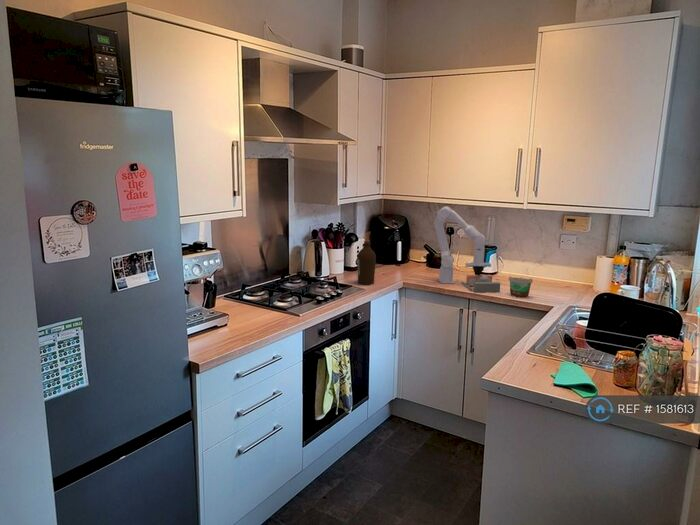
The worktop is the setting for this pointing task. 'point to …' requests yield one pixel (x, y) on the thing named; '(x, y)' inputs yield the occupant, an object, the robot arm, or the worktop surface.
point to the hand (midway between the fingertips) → (477, 279)
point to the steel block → (482, 278)
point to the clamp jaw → (472, 279)
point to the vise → (484, 287)
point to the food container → (520, 286)
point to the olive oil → (366, 264)
